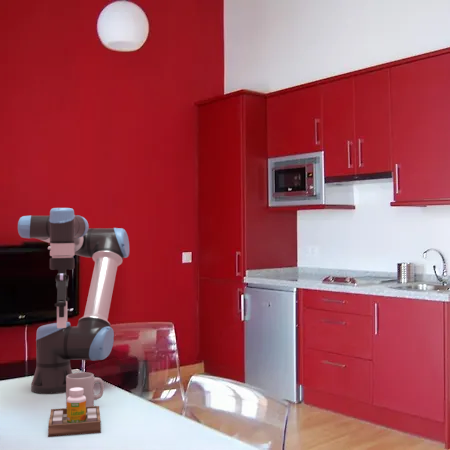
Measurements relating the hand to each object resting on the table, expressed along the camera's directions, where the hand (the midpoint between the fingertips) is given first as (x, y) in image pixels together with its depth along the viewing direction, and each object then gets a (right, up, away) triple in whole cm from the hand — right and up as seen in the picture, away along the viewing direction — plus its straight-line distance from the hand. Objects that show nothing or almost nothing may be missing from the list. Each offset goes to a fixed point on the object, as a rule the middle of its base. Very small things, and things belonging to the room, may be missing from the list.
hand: (62, 324), depth 190 cm
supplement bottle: (+8, -26, -16) cm, 32 cm away
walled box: (+8, -26, -16) cm, 32 cm away
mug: (+7, -27, 0) cm, 28 cm away
